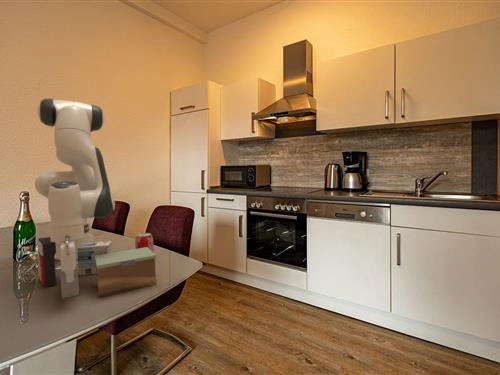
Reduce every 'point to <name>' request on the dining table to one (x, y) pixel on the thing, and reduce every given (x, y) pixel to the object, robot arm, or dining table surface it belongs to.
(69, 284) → the block
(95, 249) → the light bulb box
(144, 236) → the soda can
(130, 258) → the lid
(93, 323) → the dining table surface
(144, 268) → the storage box
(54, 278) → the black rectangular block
